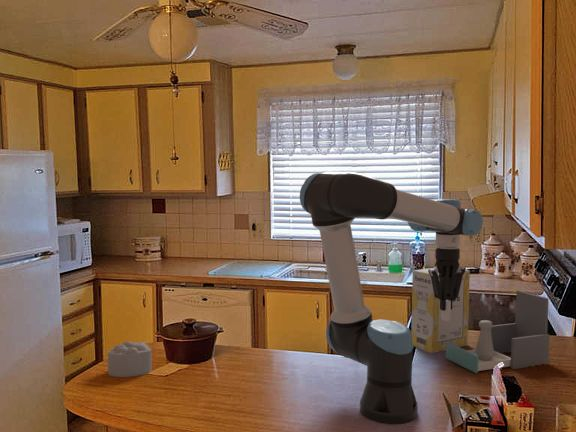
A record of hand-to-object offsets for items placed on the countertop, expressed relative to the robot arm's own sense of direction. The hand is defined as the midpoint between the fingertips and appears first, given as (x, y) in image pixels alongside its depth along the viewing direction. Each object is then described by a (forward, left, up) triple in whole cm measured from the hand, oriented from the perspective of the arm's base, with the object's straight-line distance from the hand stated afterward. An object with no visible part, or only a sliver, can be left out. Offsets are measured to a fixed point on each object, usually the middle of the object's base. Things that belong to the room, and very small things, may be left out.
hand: (445, 319), depth 179 cm
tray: (0, -14, -16) cm, 21 cm away
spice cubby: (0, -28, -16) cm, 32 cm away
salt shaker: (0, -16, -15) cm, 22 cm away
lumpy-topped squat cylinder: (+33, +96, -17) cm, 103 cm away
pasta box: (+22, -14, -17) cm, 31 cm away
